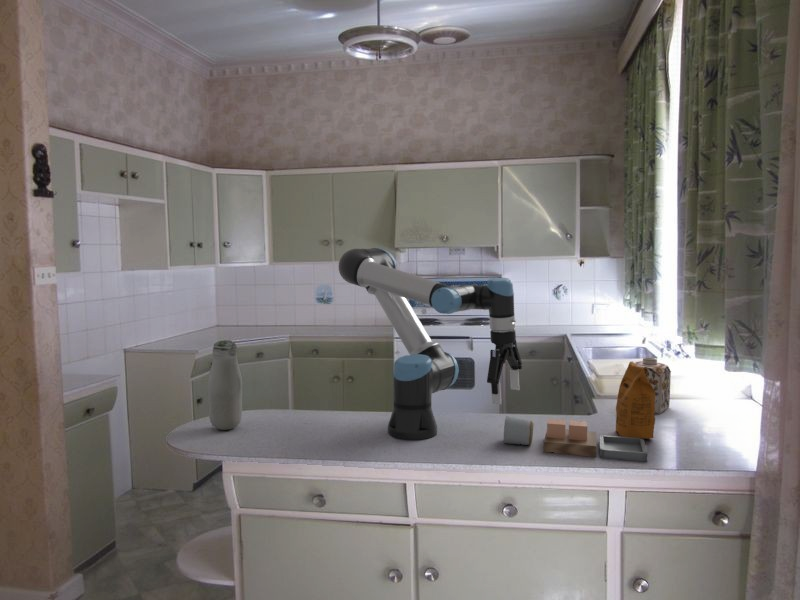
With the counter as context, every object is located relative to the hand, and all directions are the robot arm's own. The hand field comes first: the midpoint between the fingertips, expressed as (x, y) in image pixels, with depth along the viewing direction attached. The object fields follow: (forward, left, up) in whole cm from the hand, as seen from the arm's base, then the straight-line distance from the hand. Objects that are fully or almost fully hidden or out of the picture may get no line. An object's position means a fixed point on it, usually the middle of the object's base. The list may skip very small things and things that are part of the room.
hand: (506, 396), depth 197 cm
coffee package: (+38, +7, -11) cm, 40 cm away
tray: (+34, -10, -11) cm, 37 cm away
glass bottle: (-84, -23, -11) cm, 88 cm away
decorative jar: (+45, +43, -11) cm, 63 cm away
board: (+20, -10, -11) cm, 25 cm away
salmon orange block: (+22, -10, -8) cm, 25 cm away
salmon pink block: (+16, -10, -8) cm, 20 cm away
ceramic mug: (+5, -9, -11) cm, 16 cm away
